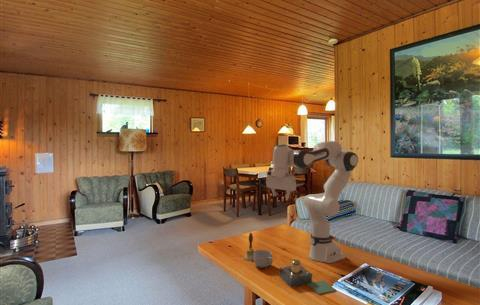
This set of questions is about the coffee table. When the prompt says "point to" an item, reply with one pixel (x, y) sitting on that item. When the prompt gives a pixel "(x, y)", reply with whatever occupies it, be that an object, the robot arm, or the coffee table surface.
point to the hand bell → (250, 250)
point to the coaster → (321, 287)
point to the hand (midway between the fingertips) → (280, 197)
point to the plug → (295, 266)
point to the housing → (295, 276)
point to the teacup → (263, 258)
